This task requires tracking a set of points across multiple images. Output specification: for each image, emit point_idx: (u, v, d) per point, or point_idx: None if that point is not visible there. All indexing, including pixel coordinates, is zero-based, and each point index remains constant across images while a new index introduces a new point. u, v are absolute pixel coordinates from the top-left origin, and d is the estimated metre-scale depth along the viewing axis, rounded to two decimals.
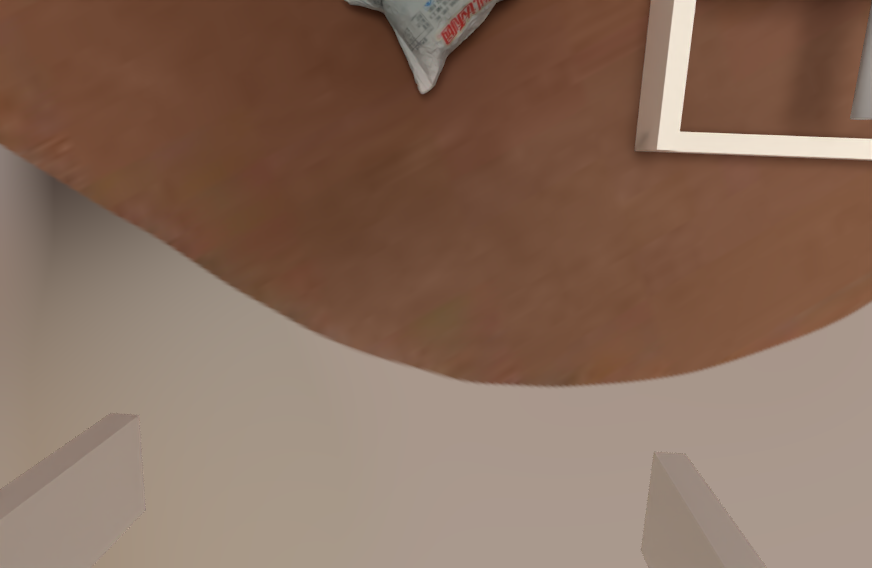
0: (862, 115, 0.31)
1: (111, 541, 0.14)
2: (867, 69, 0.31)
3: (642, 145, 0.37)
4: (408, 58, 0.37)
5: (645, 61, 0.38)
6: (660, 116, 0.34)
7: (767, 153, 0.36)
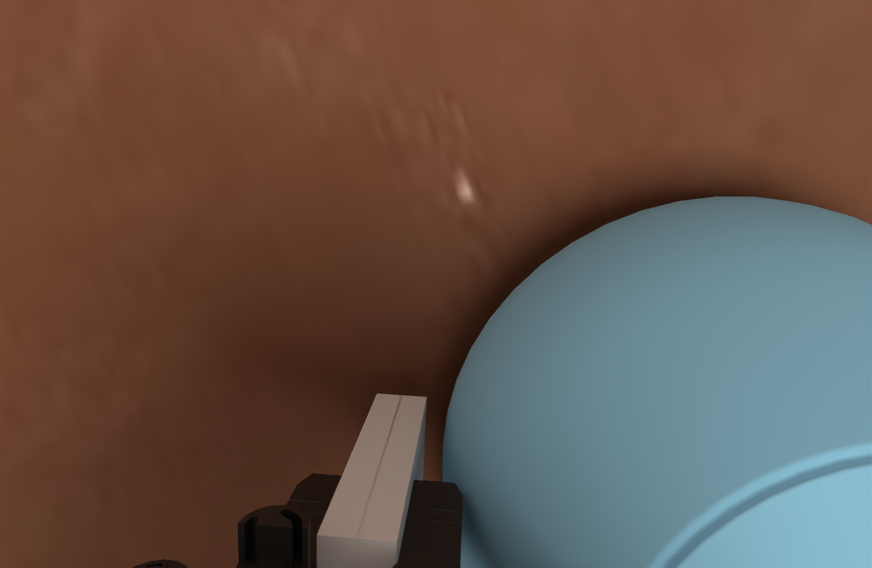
0: None
1: None
2: None
3: None
4: None
5: None
6: None
7: None
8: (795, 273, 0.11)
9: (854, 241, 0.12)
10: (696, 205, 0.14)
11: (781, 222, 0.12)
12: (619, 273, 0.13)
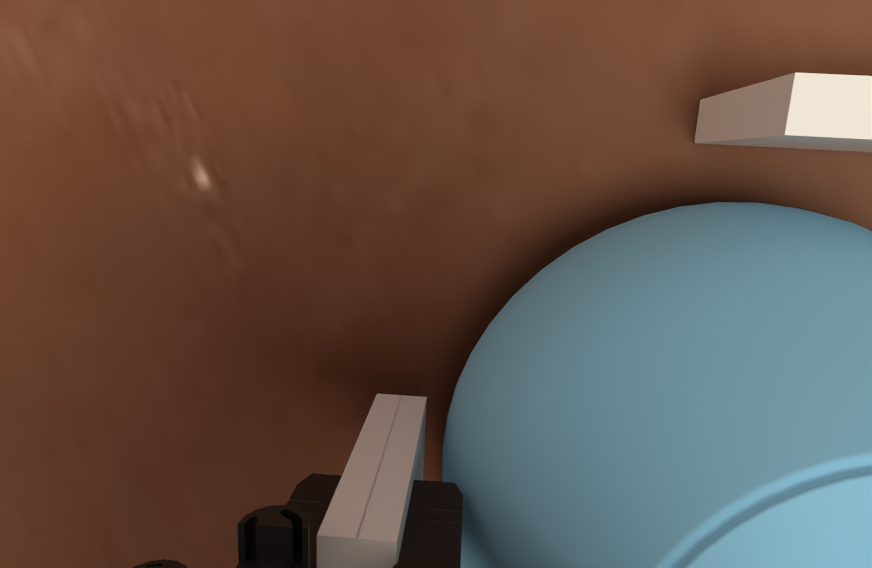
0: None
1: None
2: None
3: None
4: None
5: None
6: None
7: None
8: (797, 281, 0.11)
9: (855, 248, 0.12)
10: (697, 211, 0.14)
11: (782, 229, 0.12)
12: (621, 279, 0.13)
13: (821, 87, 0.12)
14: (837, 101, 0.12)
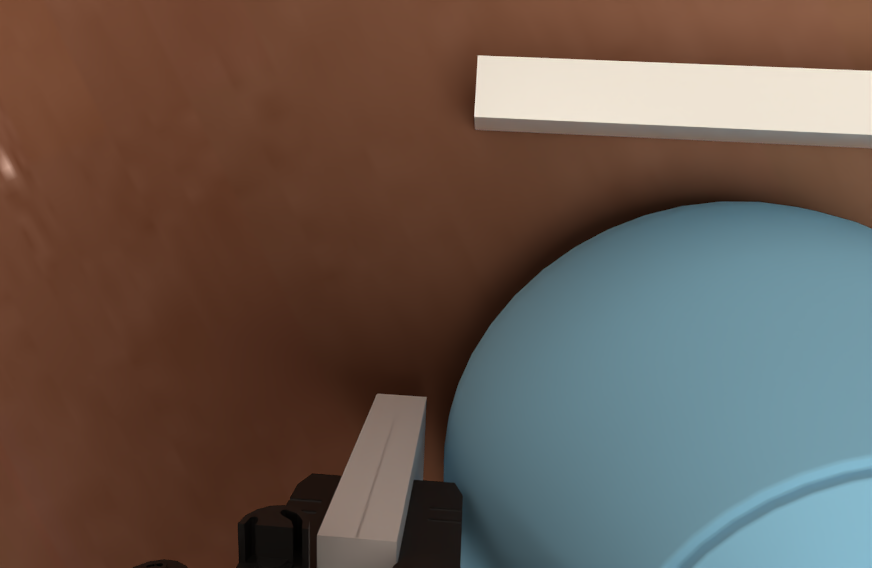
0: None
1: None
2: None
3: None
4: None
5: None
6: None
7: None
8: (800, 281, 0.11)
9: (859, 248, 0.12)
10: (700, 210, 0.14)
11: (785, 229, 0.12)
12: (622, 279, 0.12)
13: (503, 70, 0.12)
14: (520, 83, 0.12)
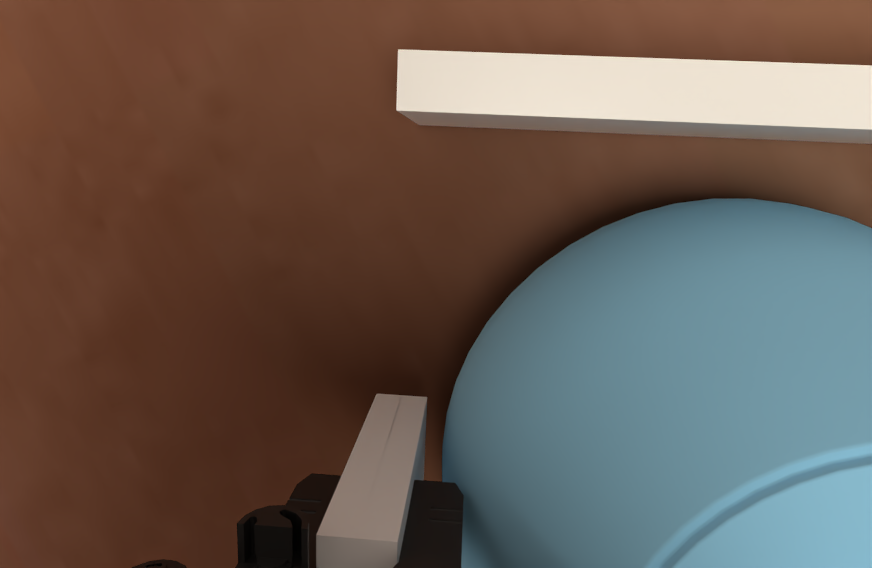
0: None
1: None
2: None
3: None
4: None
5: None
6: None
7: None
8: (789, 276, 0.11)
9: (848, 243, 0.12)
10: (692, 208, 0.14)
11: (775, 225, 0.13)
12: (615, 276, 0.13)
13: (424, 63, 0.12)
14: (440, 77, 0.12)
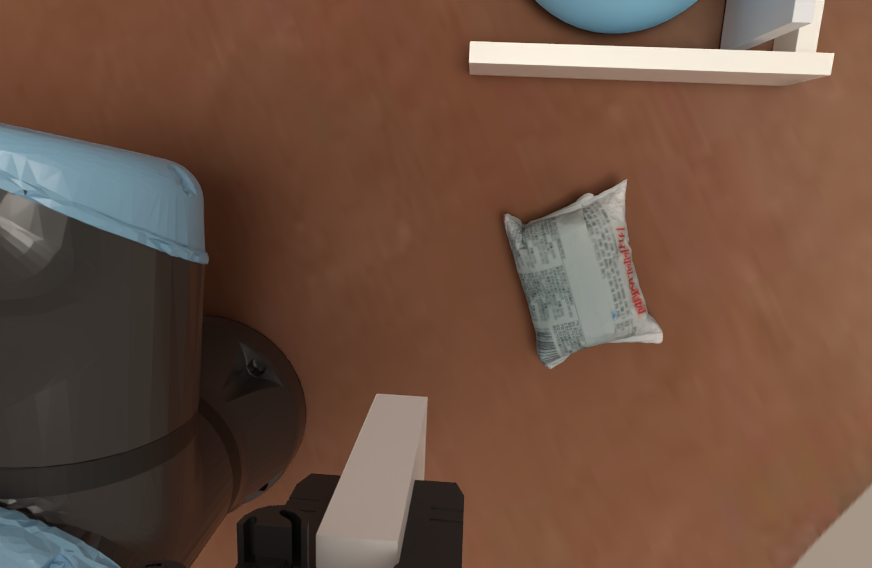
0: None
1: None
2: None
3: (796, 81, 0.37)
4: (630, 341, 0.41)
5: (699, 82, 0.39)
6: (796, 73, 0.34)
7: None
8: None
9: None
10: None
11: None
12: None
13: None
14: None
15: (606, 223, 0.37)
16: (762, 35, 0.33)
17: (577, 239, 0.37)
